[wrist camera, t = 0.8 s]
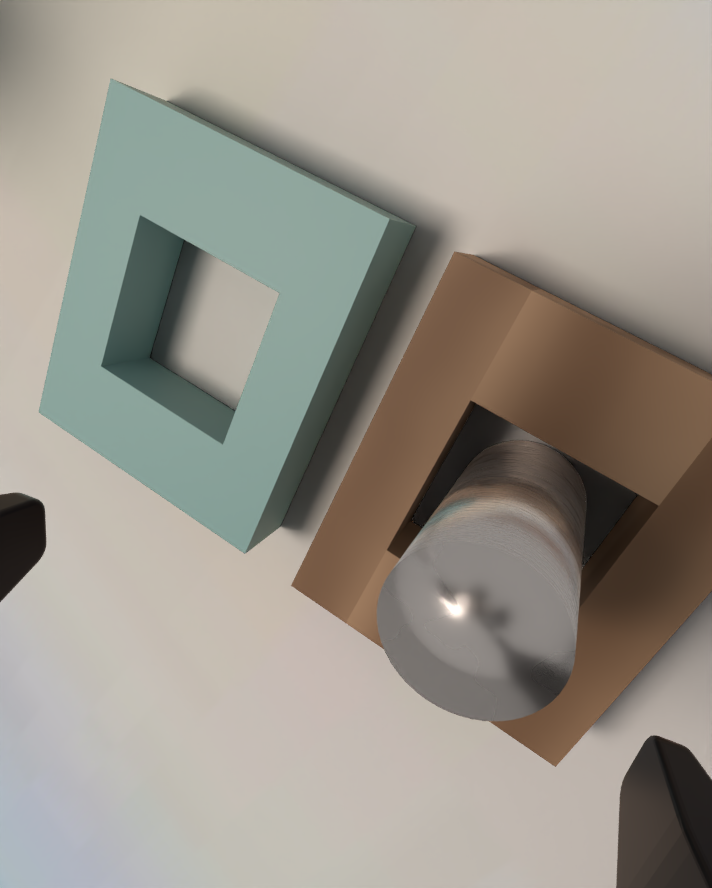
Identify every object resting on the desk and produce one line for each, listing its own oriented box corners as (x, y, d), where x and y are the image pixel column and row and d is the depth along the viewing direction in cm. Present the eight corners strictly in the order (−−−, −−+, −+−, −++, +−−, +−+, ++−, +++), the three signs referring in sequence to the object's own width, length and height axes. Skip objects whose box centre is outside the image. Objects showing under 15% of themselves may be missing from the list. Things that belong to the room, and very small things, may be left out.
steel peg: (613, 483, 18) (619, 621, 11) (543, 580, 19) (508, 756, 12) (495, 417, 19) (428, 503, 11) (438, 515, 20) (347, 645, 13)
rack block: (416, 225, 18) (389, 218, 16) (280, 526, 23) (245, 553, 21) (165, 100, 20) (110, 78, 18) (89, 400, 25) (38, 412, 23)
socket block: (806, 421, 15) (840, 445, 13) (560, 713, 20) (555, 766, 18) (473, 255, 18) (454, 251, 15) (322, 555, 22) (291, 585, 20)
